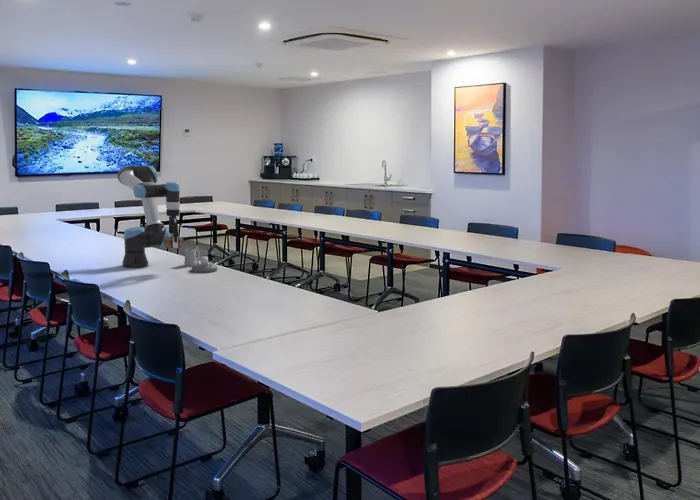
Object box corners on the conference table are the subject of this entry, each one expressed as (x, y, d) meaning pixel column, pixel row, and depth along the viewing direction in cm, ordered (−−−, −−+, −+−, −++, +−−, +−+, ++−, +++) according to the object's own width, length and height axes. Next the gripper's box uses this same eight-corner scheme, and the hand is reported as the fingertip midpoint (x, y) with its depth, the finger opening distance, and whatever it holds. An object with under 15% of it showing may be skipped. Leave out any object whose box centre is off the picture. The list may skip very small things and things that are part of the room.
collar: (165, 248, 362) (165, 240, 361) (162, 245, 372) (162, 237, 371) (184, 247, 367) (184, 239, 366) (181, 244, 376) (181, 236, 375)
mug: (181, 265, 390) (181, 246, 388) (195, 262, 399) (195, 244, 397) (190, 266, 386) (189, 247, 384) (204, 264, 395) (203, 245, 393)
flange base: (186, 271, 372) (186, 258, 370) (200, 267, 386) (200, 254, 384) (208, 273, 367) (208, 260, 365) (221, 269, 381) (221, 256, 379)
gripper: (183, 211, 357) (184, 249, 360) (175, 206, 377) (176, 242, 381) (169, 211, 353) (170, 249, 357) (163, 206, 374) (163, 243, 378)
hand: (173, 246), depth 369 cm, fingers closed on collar, 11 cm apart
